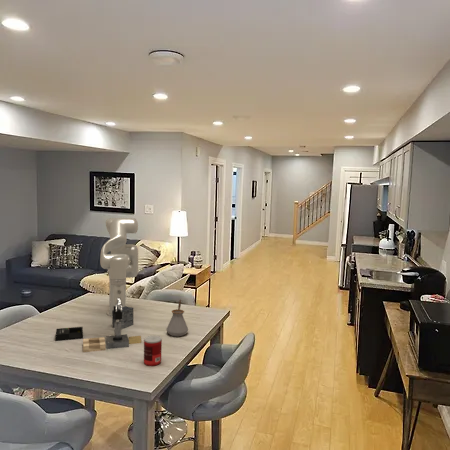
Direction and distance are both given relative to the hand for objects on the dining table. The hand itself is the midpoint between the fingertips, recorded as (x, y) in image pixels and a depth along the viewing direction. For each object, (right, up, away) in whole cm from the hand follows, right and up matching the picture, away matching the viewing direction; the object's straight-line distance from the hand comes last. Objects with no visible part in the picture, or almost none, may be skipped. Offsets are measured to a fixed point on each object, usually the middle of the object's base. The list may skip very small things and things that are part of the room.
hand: (117, 316), depth 201 cm
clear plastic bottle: (-1, -14, +2) cm, 14 cm away
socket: (-1, -14, +2) cm, 14 cm away
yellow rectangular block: (+7, -14, +4) cm, 17 cm away
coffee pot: (+27, -14, +23) cm, 38 cm away
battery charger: (-27, -13, +9) cm, 32 cm away
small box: (-4, -12, +27) cm, 30 cm away
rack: (-11, -14, -3) cm, 18 cm away
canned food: (+20, -17, -17) cm, 31 cm away
